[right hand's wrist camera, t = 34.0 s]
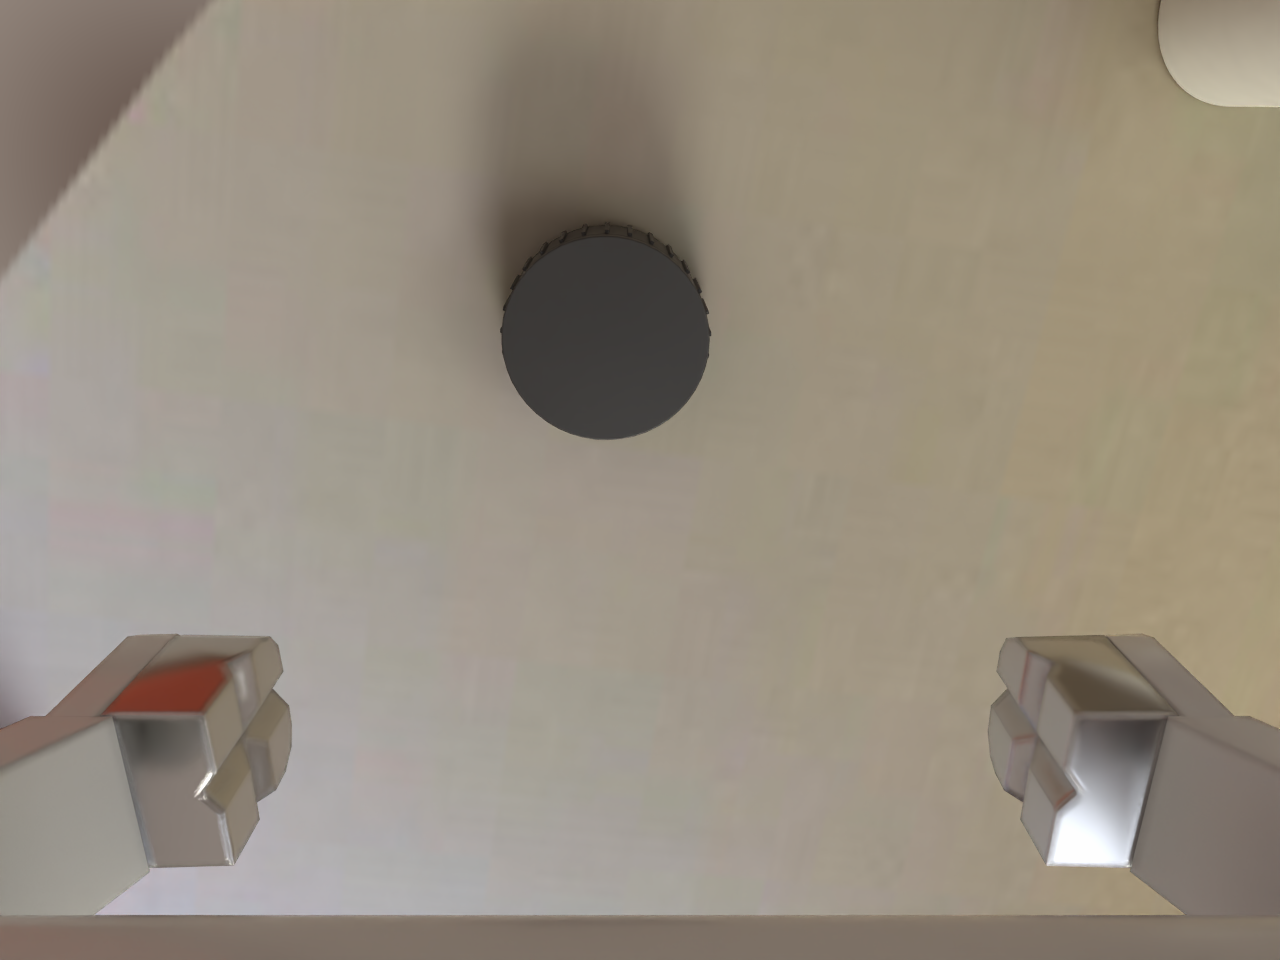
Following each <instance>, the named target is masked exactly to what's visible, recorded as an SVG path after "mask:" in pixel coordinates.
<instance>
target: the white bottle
mask: <svg viewBox="0 0 1280 960" xmlns="http://www.w3.org/2000/svg"><path fill="white" fill-rule="evenodd" d="M1158 38H1159V44H1160V50H1161V53H1162V56H1163V59H1164V62H1165V65H1166V67H1167V68H1168V70H1169V72H1170V74H1171V75H1172V77H1173V78H1174V80H1175V81H1176V82H1177V84H1178V85H1179V86H1180V87H1182V88H1183V89H1184V90H1185V91H1186V92H1187V93H1189V94H1190V95H1191V96H1193V97H1195V98H1197V99H1199V100H1201V101H1203V102H1206V103H1209V104H1212V105H1218V106H1225V107H1280V0H1161V4H1160V9H1159V17H1158Z"/></svg>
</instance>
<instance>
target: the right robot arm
mask: <svg viewBox="0 0 1280 960" xmlns="http://www.w3.org/2000/svg"><path fill="white" fill-rule="evenodd" d="M282 673H283V667H282V662H281V657H280V652H279V647H278V645H277V643H276V642H275V641H274V640H273V639H272V638H271V637H270V636H222V635H178V634H152V635H135V636H129V637H127V638H126V639H125V640H124V641H123V642H122V643H121V644H120V645H118V646H117V647H116V648H115V649H114V650H113V651H112V652H111V653H110V654H109V655H108V656H107V657H106V658H105V659H104V660H103V661H102V662H101V663H100V664H99V665H98V666H97V667H96V668H95V669H94V670H93V671H92V672H91V673H90V674H89V675H88V676H86V677H85V678H84V679H83V680H82V681H81V682H80V683H79V684H78V685H77V686H76V687H75V688H74V689H73V690H72V691H71V692H70V693H69V694H68V695H67V696H66V697H65V698H64V699H63V700H62V701H61V702H60V703H59V704H58V705H57V706H56V707H54V708H53V709H52V710H51V711H50V712H49V713H48V714H47V715H46V716H30V717H28V718H25V719H23V720H21V721H18V722H16V723H14V724H11V725H9V726H7V727H4V728H2V729H0V960H1280V729H1278V728H1275V727H1273V726H1271V725H1269V724H1266V723H1264V722H1262V721H1259V720H1257V719H1255V718H1252V717H1250V716H1234V715H1233V714H1232V713H1231V712H1230V711H1229V710H1228V709H1227V708H1226V707H1225V706H1224V705H1223V704H1222V703H1220V702H1219V701H1218V700H1217V699H1216V698H1215V697H1214V696H1213V695H1212V694H1211V693H1210V692H1209V691H1208V690H1207V689H1206V688H1205V687H1204V686H1203V685H1202V684H1201V683H1200V682H1199V681H1198V680H1197V679H1196V678H1195V677H1194V676H1193V675H1192V674H1191V673H1190V672H1189V671H1188V670H1187V669H1185V668H1184V667H1183V666H1182V665H1181V664H1180V663H1179V662H1178V661H1177V660H1176V659H1175V658H1174V657H1173V656H1172V655H1171V654H1170V653H1169V652H1168V651H1167V650H1166V649H1165V648H1164V647H1163V646H1162V645H1161V644H1160V643H1159V642H1158V641H1157V640H1156V639H1155V638H1153V637H1150V636H1147V635H1144V634H1122V635H1084V636H1043V637H1014V638H1006V640H1005V642H1004V644H1003V646H1002V648H1001V651H1000V655H999V660H998V666H997V673H998V674H999V676H1000V677H1001V679H1002V680H1003V682H1004V683H1005V685H1006V687H1007V688H1008V689H1007V690H1006V691H1005V692H1004V693H1003V694H1002V695H1001V696H1000V697H999V698H998V699H997V700H996V701H995V702H994V703H993V704H992V705H991V710H990V718H989V726H988V738H989V749H990V757H991V761H992V764H993V767H994V770H995V774H996V776H997V777H998V779H999V781H1000V783H1001V785H1002V787H1003V789H1004V790H1005V791H1006V792H1008V793H1009V794H1011V795H1012V796H1014V797H1015V798H1017V799H1019V800H1020V801H1022V802H1023V807H1022V813H1021V819H1020V820H1021V821H1022V823H1023V825H1024V827H1025V828H1026V830H1027V832H1028V834H1029V836H1030V837H1031V839H1032V841H1033V843H1034V844H1035V846H1036V848H1037V850H1038V851H1039V853H1040V855H1041V857H1042V859H1043V860H1044V862H1045V864H1046V866H1080V867H1116V868H1131V870H1130V872H1131V873H1133V874H1134V875H1135V876H1136V877H1138V878H1139V879H1140V880H1142V881H1143V882H1144V883H1146V884H1147V885H1148V886H1149V887H1151V888H1152V889H1153V890H1155V891H1156V892H1157V893H1159V894H1160V895H1161V896H1162V897H1164V898H1165V899H1166V900H1168V901H1169V902H1170V903H1172V904H1173V905H1174V906H1175V907H1177V908H1178V909H1179V910H1181V911H1182V912H1183V913H1184V914H1186V915H95V914H96V913H97V912H98V911H100V910H101V909H102V908H104V907H105V906H106V905H108V904H109V903H110V902H111V901H113V900H114V899H115V898H117V897H118V896H119V895H121V894H122V893H123V892H124V891H126V890H127V889H128V888H130V887H131V886H132V885H134V884H135V883H136V882H137V881H139V880H140V879H141V878H143V877H144V876H145V875H146V874H148V873H149V871H150V870H149V868H163V867H198V866H234V864H235V862H236V861H237V859H238V857H239V855H240V853H241V852H242V850H243V848H244V846H245V845H246V843H247V841H248V839H249V837H250V836H251V834H252V832H253V830H254V829H255V827H256V825H257V823H258V821H259V820H260V818H259V813H258V807H257V802H258V801H260V800H261V799H263V798H265V797H266V796H268V795H269V794H271V793H272V792H274V791H275V790H276V789H277V787H278V785H279V783H280V781H281V779H282V777H283V775H284V773H285V772H286V767H287V763H288V759H289V754H290V750H291V743H292V723H291V716H290V709H289V705H288V704H287V703H286V702H285V701H284V700H283V699H282V698H281V697H280V696H279V695H278V694H277V693H276V692H275V691H274V690H273V689H272V688H273V687H274V685H275V684H276V682H277V680H278V679H279V677H280V676H281V674H282Z"/></svg>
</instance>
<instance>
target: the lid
mask: <svg viewBox="0 0 1280 960" xmlns="http://www.w3.org/2000/svg"><path fill="white" fill-rule="evenodd" d="M523 270H524V272H523V274H522V275H521V276H520V275H518V276H517V278H516V279H515V281H514V283H513V284H512V286H511V288H510V289H512V290H513V291H512V293H511V295H510V296H509V298H508V300H507V302H506V303H505V305H504V307H503V310H504V311H505V313H504V317H503V324H502V327H501V329H500V333H502V353H503V357H504V361H505V364H506V368H507V371H508V373H509V376H510V378H511V381H512V383H513V384H514V386H515V388H516V390H517V391H518V393H519V395H520V396H521V397H522V398H523V400H524V401H525V402H526V404H527V405H528V406H529V407H530V408H531V409H532V410H533V411H534V412H535V413H536V414H538V415H539V416H540V417H541V418H543V419H544V420H545V421H547V422H548V423H550V424H552V425H553V426H555V427H557V428H558V429H561V430H563V431H565V432H568V433H570V434H573V435H577V436H580V437H584V438H590V439H597V440H615V439H624V438H628V437H633V436H637V435H639V434H642V433H645V432H648V431H650V430H652V429H654V428H656V427H658V426H660V425H661V424H663V423H664V422H666V421H667V420H669V419H670V418H671V417H672V416H674V415H675V414H676V413H677V412H678V411H679V410H680V409H681V408H682V407H683V406H684V405H685V404H686V403H687V401H688V400H689V399H690V397H691V396H692V394H693V393H694V391H695V390H696V388H697V386H698V384H699V382H700V380H701V378H702V375H703V372H704V370H705V367H706V363H707V358H708V357H709V341H710V339H709V336H711V331H710V329H709V325H708V319H707V314H709V312H708V309H707V306H706V304H705V302H704V299H703V298H702V299H701V297H700V294H699V293H701V292H702V291H701V289H700V287H699V284H698V282H697V280H696V278H694V279H692V277H691V275H690V271H689V268H688V266H687V264H686V262H685V261H684V260H682V261H680V259H679V258H678V257H677V256H676V255H675V254H674V253H673V251H672V248H671V246H670V245H669V244H668V245H667V246H665V245H664V244H662V243H661V242H659V241H658V240H656V239H655V238H653V234H651V233H648V235H646V234H644V233H642V232H639V231H636V230H633V229H632V226H630V225H628V226H627V228H625V227H620V226H610V223H608V222H606V223H605V225H602V226H591V227H588V225H587V224H585V225H583V228H582V229H578V230H575V231H572V232H569V233H567V232H566V231H564V232H562V234H561V237H559V238H557V239H555V240H554V241H552V242H551V243H550V244H548V243H547V242H546V243H544V244H543V246H542V248H541V250H540V252H539V253H538V254H537V255H536V256H535V257H534V258H531V257H530V258H529V259H528V261H527V262H526V264H525V266H524V267H523Z"/></svg>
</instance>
